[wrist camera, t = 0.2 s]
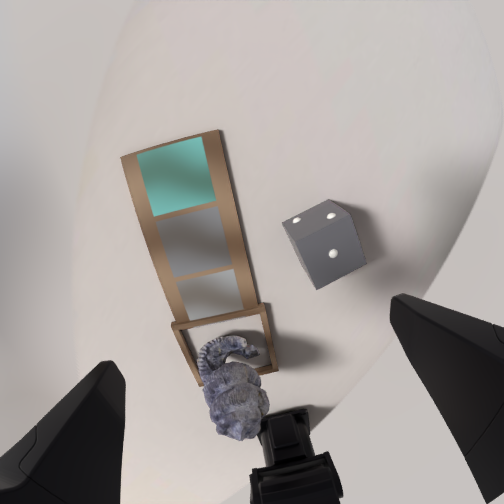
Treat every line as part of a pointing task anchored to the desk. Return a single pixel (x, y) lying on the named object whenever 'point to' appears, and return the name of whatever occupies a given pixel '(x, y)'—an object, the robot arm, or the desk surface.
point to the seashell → (232, 388)
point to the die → (325, 242)
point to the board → (191, 226)
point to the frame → (222, 317)
